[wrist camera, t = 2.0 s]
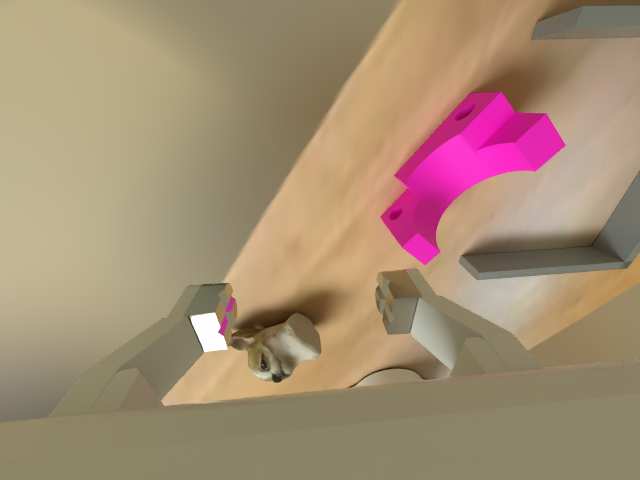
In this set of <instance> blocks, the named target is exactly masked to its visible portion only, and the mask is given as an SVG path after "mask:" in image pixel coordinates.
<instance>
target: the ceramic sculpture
mask: <svg viewBox="0 0 640 480" xmlns="http://www.w3.org/2000/svg"><path fill="white" fill-rule="evenodd" d="M229 346H232V347H233V348H235V349H237V350H245V351H248V365H249V368H250V369H251V371H252V372H253V373H254V374H255V375H256V376H257V377H259V378H260V379H262V380H265V381H274V382H276V383H277V382H281V381H282V380H284V379H287V378H289V377H290V376H291V374H292V371H293V370H294V369H295V367H296V366H297V365H298V364H299V363H300V362H302V361H304V360H310V359H317V358H318V356H319V355H320V354H321V344H320V337H319V333H318V332H317V331H316V330H315V328H314V326H313V324H312V322H311V320H310V319H309V318H308V317H306V316H303V315H302V314H300V313H294V314H292V315H291V316H290V317H289V318H288V319H287V321H286V322H285V323H281V324H278V325H276V326H272V327H268V328H265V329H242V330H239V331H237V332H235V333H233V334H232V335H231V339H230V342H229Z"/></svg>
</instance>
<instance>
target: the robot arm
mask: <svg viewBox="0 0 640 480" xmlns="http://www.w3.org/2000/svg"><path fill="white" fill-rule="evenodd" d="M377 282H378V284H379V285H378V287H377V288H376V292H375V298H376V304H377V308H378V310H379V312H380V313H382V314H383V320H382V321H383V323H384V326H385V328H386V331H387V333H388V335H389V334H406V333H410V335H411V336H413V337H414V338H415V339H416V340H417V341H418V342H419V343H420V344H422V345H423V346H424V347H425V348H426V349H427V350H428V351H429V352H431V353H432V354H433V355H434V356H435V357H436V358H437V359H439V360H440V361H441V362H442V363H443V364H444V365H445V366H446V367H448V368H449V369H450V370H451V371H452V372H451V374H450V377H449V378H440V379H430V380H424V379H422V378H421V377H420V376H419V375H418V374H417V373H415V372H413V371H411V370H407V369H388V370H383V371H380V372H376V373H374V374H371V375H369V376H368V377H366V378H364V379H363V380H362V381H360V382H359V383H358V384H357V385H355V386H353V387H351V388H341V389H332V390H322V391H312V392H302V393H291V394H281V395H271V396H261V397H251V398H241V399H231V400H221V401H211V402H201V403H191V404H181V405H171V406H164V405H163V403H162V402H161V400H162V399H163V397H164V396H165V395H166V394H167V393H168V392H169V391H170V390H171V389H172V387H173V386H174V385H175V384H176V383H177V382H178V381H179V380H180V379H181V378H182V376H183V375H184V374H185V373H186V372H187V371H188V370H189V369H190V368H191V366H192V365H193V364H194V363H195V362H196V361H197V360H198V359H199V358H200V357H201V355H202V354H203V353H204V352H205V351H213V350H222V349H228V346H229V342H230V339H231V335H232V331H231V327H232V326H233V325H234V324H235V322H236V318H237V304H236V300H235V299H234V298H233V297H232V296H231V295H232V292H233V290H232V287H231V284H229V283H218V284H203V285H189V286H188V287H186V288H185V290H184V292H183V293H182V295H181V296H180V298H179V300H178V301H177V303H176V304H175V306H174V308H173V309H172V311H171V312H170V314H169V316H168V317H167V318H162V319H161V320H159V321H158V322H156V323H155V324H153V325H152V326H150V327H149V328H148V329H146V330H145V331H143V332H142V333H140V334H139V335H137V336H136V337H134V338H133V339H131V340H130V341H129V342H127V343H126V344H124V345H123V346H121V347H120V348H118V349H117V350H115V351H114V352H113V353H111V354H110V355H108V356H107V357H105V358H104V359H102V360H101V361H99V362H98V363H96V364H95V365H93V366H92V367H90V368H89V369H87V370H86V371H85V372H84V373H83V374H82V375H81V376H80V378H79V379H78V380H77V381H76V383H75V384H74V385H73V386H72V388H71V389H70V390H69V391H68V393H67V394H66V395H65V397H64V398H63V399H62V400H61V401H60V403H59V404H58V405H57V406H56V407H55V409H54V410H53V411H52V412H51V414H50V415H49V416H48V418H41V419H31V420H21V421H11V422H1V423H0V480H640V359H630V360H620V361H611V362H600V363H591V364H581V365H570V366H560V367H550V368H543V367H542V366H541V365H540V364H539V363H538V361H537V360H536V359H535V358H534V357H533V356H532V355H531V354H530V353H529V352H528V351H527V350H526V349H525V347H524V346H523V345H522V344H521V343H520V342H519V341H518V340H517V339H516V338H515V337H514V336H513V335H512V333H510V332H508V331H506V330H504V329H503V328H501V327H499V326H497V325H495V324H493V323H491V322H489V321H488V320H486V319H484V318H482V317H480V316H478V315H476V314H475V313H473V312H471V311H469V310H467V309H465V308H463V307H461V306H460V305H458V304H456V303H454V302H452V301H450V300H448V299H446V298H445V297H443V296H437V295H436V293H435V292H434V291H433V289H432V288H431V287H430V285H429V284H428V283H427V281H426V280H425V279H424V277H423V276H422V275H421V273H420V272H419V270H418V269H416V268H414V269H404V270H396V271H383V272H378V275H377Z"/></svg>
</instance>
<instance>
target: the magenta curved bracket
mask: <svg viewBox="0 0 640 480" xmlns="http://www.w3.org/2000/svg"><path fill="white" fill-rule="evenodd" d="M564 146H566V145H565V143H564V142H563V140H562V139H561V137H560V135H559V134H558V132H557V130H556V129H555V127H554V125H553V124H552V122H551V120H550V119H549V117H548V115H547V114H545V113H516V112H515V111H514V110H513V108H512V107H511V105H510V104H509V102H508V101H507V99H506V98H505V96H504V95H503V93H502V92H486V93H471V94H469V95H468V96H467V97H466V98H465V99H464V100H463V101H462V102H461V103H460V104H459V106H458V107H457V108H456V109H455V110H454V111H453V112H452V113H451V114H450V115H449V116H448V117H447V119H446V120H445V121H444V122H443V123H442V124H441V125H440V126H439V127H438V128H437V129H436V131H435V132H434V133H433V134H432V135H431V136H430V137H429V138H428V139H427V140H426V141H425V143H424V144H423V145H422V146H421V147H420V148H419V149H418V150H417V151H416V152H415V153H414V154H413V156H412V157H411V158H410V159H409V160H408V161H407V162H406V163H405V164H404V165H403V166H402V168H401V169H400V170H399V171H398V172H397V173H396V174H395V175H394V176H395V177H396V178H397V179H398V180H399V181H400V182H401V183H403V184H404V185H405V186H406V187H407V188H408V189H407V190H406V191H405V192H404V193H403V194H402V195H401V196H400V197H399V198H398V199H397V200H396V201H395V202H394V203H393V204H392V205H391V206H390V208H389V209H388V210H387V211H386V212H385V213H384V214H383V215H382V216H381V217H380V218H381V219H382V220H383V222H384V223H385V225H386V226H387V227H388V229H389V230H390V232H391V233H392V234H393V236H394V237H395V238H396V240H397V241H398V243H399V244H400V245H401V247H402V248H403V249H405V250H406V251H407V252H409V253H410V254H411V255H413V256H414V257H415V258H416V259H418V260H419V261H420V262H422V263H423V264H424V265H426V264H427V263H428V262H430V261H431V260H432V259H433V258H434V257H435V256H437V255H438V254H439V253H440V250H439V249H438V246H437V243H436V230H437V226H438V223H439V220H440V218H441V216H442V215H443V213H444V212H445V210H446V209H447V207H448V206H449V205H450V204H451V203H452V202H453V201H454V200H455V199H456V198H457V197H458V196H459V195H460V194H462V193H463V192H464V191H466V190H467V189H469V188H470V187H472V186H473V185H475V184H477V183H479V182H481V181H483V180H485V179H487V178H490V177H493V176H495V175H499V174H502V173H507V172H512V171H536V170H538V169H539V168H540V167H541V166H542V165H543V164H545V163H546V162H547V161H548V160H549V159H550V158H552V157H553V156H554V155H555V154H556V153H557V152H559V151H560V150H561V149H562V148H563V147H564Z"/></svg>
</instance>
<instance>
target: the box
mask: <svg viewBox="0 0 640 480" xmlns="http://www.w3.org/2000/svg"><path fill="white" fill-rule="evenodd" d="M617 37H640V5H616V6H582V7H579V8H576V9H573V10H570V11H567V12H565V13H562V14H559V15H556V16H553V17H550V18H547V19H544V20H542V21H539V22H537V23H536V26H535V29H534V32H533V35H532V38H531V39H574V38H617ZM639 252H640V172H639V173H638V175H637V177H636V178H635V180H634V181H633V183H632V184H631V186H630V187H629V189H628V191H627V192H626V194H625V195H624V197H623V198H622V200H621V201H620V203H619V205H618V206H617V208H616V209H615V211H614V212H613V214H612V216H611V217H610V219H609V220H608V222H607V223H606V225H605V226H604V228H603V230H602V231H601V233H600V234H599V236H598V237H597V239H596V240H595V242H594V244H593V245H592V246H588V247H574V248H560V249H546V250H532V251H519V252H505V253H491V254H477V255H463V256H461V258H460V261H459V263H460V264H461V265H462V266H463V267H464V268H465V269H466V270H467V271H468V272H469V273H470V274H471V275H472V276H473V277H474V278H475V279H476V280H485V279H498V278H511V277H523V276H536V275H549V274H562V273H575V272H587V271H600V270H613V269H626V268H628V266H629V265H630V264H631V263H632V261H633V260H634V259H635V257H636V256H637V255H638V253H639Z"/></svg>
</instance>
